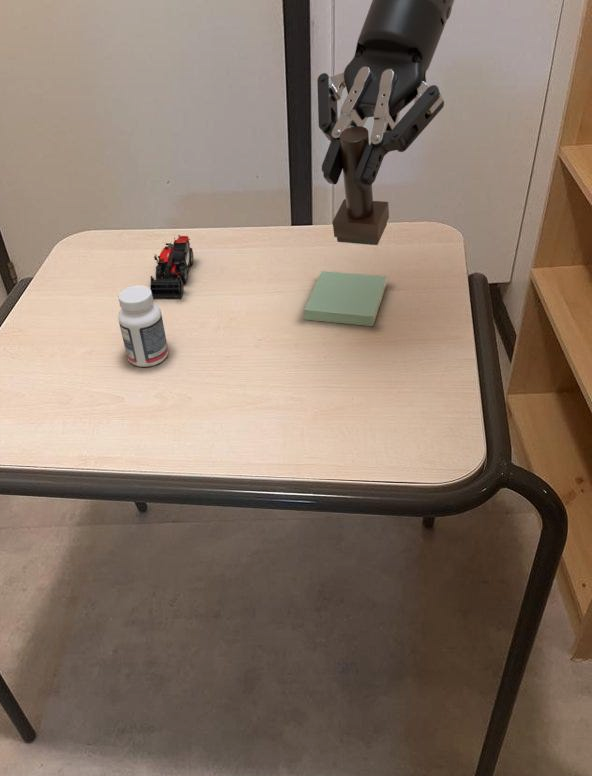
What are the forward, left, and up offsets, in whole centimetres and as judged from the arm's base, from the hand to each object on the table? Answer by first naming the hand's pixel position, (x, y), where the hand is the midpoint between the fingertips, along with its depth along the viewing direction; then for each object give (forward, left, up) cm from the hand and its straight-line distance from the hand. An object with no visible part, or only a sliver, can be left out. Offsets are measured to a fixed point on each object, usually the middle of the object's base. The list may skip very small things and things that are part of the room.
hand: (344, 182), depth 72 cm
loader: (+28, -15, -22) cm, 38 cm away
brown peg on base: (-1, -4, -7) cm, 8 cm away
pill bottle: (+24, +4, -22) cm, 32 cm away
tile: (+2, -12, -21) cm, 25 cm away
